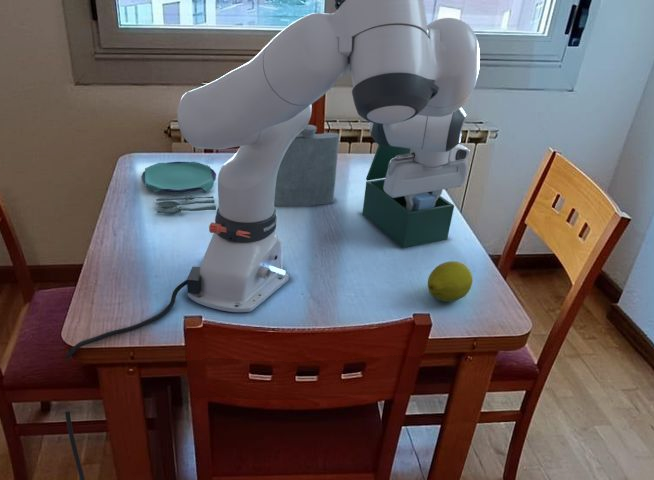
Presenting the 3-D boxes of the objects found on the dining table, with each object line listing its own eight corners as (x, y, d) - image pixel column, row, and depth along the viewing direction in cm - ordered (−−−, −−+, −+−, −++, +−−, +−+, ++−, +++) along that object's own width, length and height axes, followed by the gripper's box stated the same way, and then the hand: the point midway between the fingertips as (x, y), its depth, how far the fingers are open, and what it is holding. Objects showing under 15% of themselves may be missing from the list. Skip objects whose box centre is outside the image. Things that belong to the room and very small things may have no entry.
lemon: (453, 283, 131) (461, 250, 126) (478, 302, 125) (487, 268, 120) (412, 294, 126) (418, 260, 122) (435, 314, 121) (443, 280, 116)
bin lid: (439, 109, 139) (427, 93, 142) (392, 114, 135) (380, 98, 137) (410, 174, 155) (399, 158, 157) (366, 180, 150) (357, 165, 153)
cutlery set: (213, 166, 176) (212, 158, 175) (224, 213, 153) (224, 204, 151) (141, 169, 173) (140, 161, 171) (141, 217, 149) (140, 208, 148)
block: (431, 217, 143) (434, 197, 140) (416, 220, 142) (420, 200, 139) (421, 210, 146) (424, 190, 143) (407, 212, 145) (410, 192, 142)
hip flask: (331, 197, 163) (338, 122, 151) (336, 204, 160) (343, 127, 148) (272, 201, 159) (274, 124, 148) (275, 208, 156) (278, 130, 145)
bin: (447, 239, 147) (454, 205, 142) (402, 248, 142) (408, 213, 137) (404, 206, 160) (409, 174, 155) (362, 214, 156) (366, 181, 151)
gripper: (398, 161, 129) (389, 221, 137) (476, 150, 136) (463, 207, 144) (382, 151, 134) (374, 209, 142) (459, 140, 141) (447, 196, 149)
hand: (420, 208), depth 143 cm, fingers closed on block, 4 cm apart
